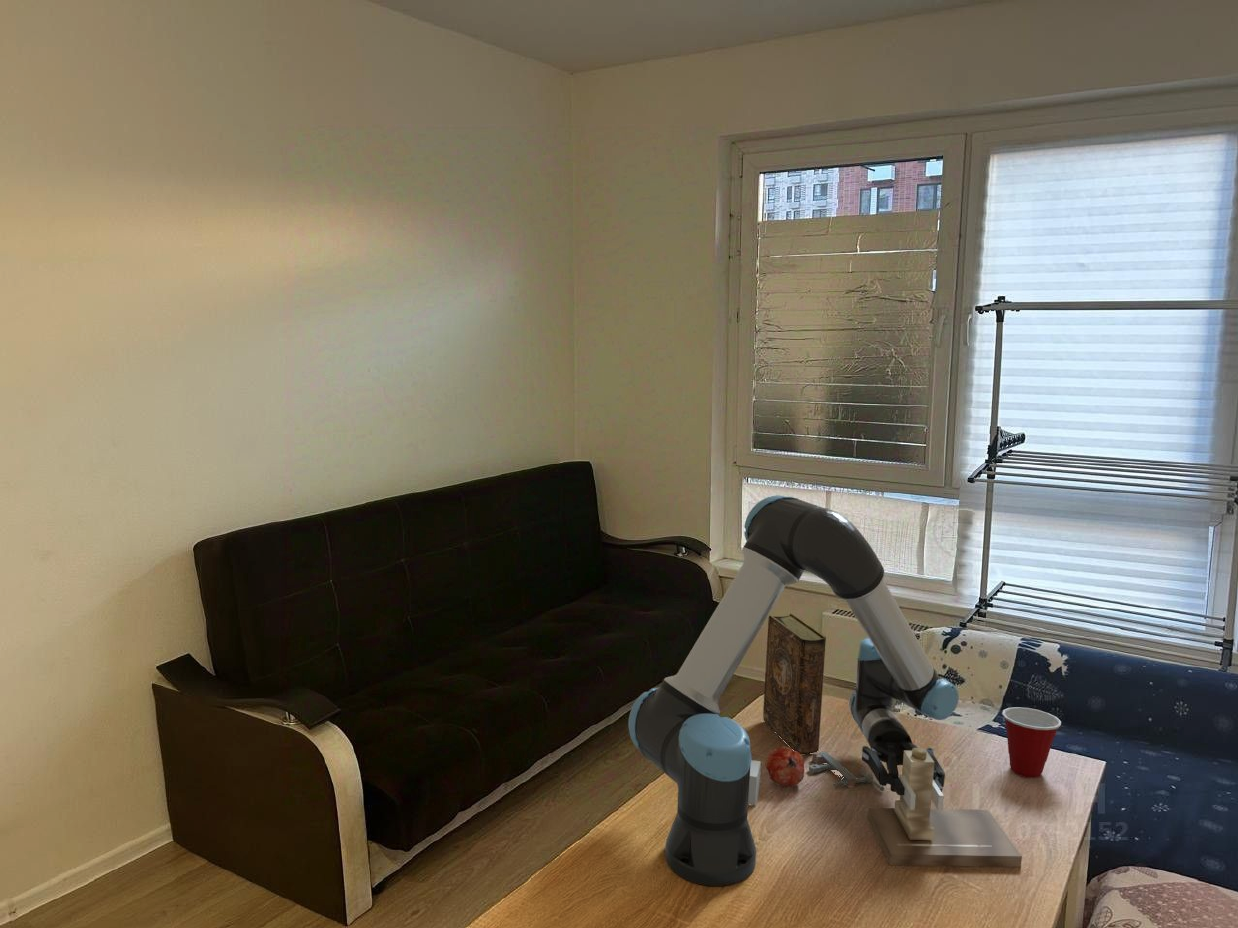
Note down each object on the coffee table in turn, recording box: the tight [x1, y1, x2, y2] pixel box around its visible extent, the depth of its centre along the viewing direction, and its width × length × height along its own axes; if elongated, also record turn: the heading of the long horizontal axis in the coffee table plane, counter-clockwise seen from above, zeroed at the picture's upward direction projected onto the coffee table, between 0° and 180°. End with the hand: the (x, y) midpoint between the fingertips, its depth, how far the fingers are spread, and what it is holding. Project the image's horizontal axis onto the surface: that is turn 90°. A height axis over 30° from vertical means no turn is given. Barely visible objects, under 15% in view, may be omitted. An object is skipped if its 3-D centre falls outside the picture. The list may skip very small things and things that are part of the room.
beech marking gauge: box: [893, 747, 935, 840], centre depth 159 cm, size 4×9×14 cm, turn 0°
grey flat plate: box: [866, 807, 1023, 868], centre depth 159 cm, size 22×14×2 cm, turn 90°
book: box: [762, 613, 827, 755], centre depth 195 cm, size 16×6×25 cm, turn 17°
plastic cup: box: [1001, 706, 1062, 779], centre depth 183 cm, size 11×11×12 cm
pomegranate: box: [765, 746, 805, 787], centre depth 178 cm, size 7×7×10 cm
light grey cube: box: [748, 759, 762, 806], centre depth 173 cm, size 6×6×6 cm
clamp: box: [808, 751, 885, 792], centre depth 180 cm, size 15×2×10 cm
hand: (926, 802), depth 154 cm, fingers closed on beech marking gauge, 4 cm apart
